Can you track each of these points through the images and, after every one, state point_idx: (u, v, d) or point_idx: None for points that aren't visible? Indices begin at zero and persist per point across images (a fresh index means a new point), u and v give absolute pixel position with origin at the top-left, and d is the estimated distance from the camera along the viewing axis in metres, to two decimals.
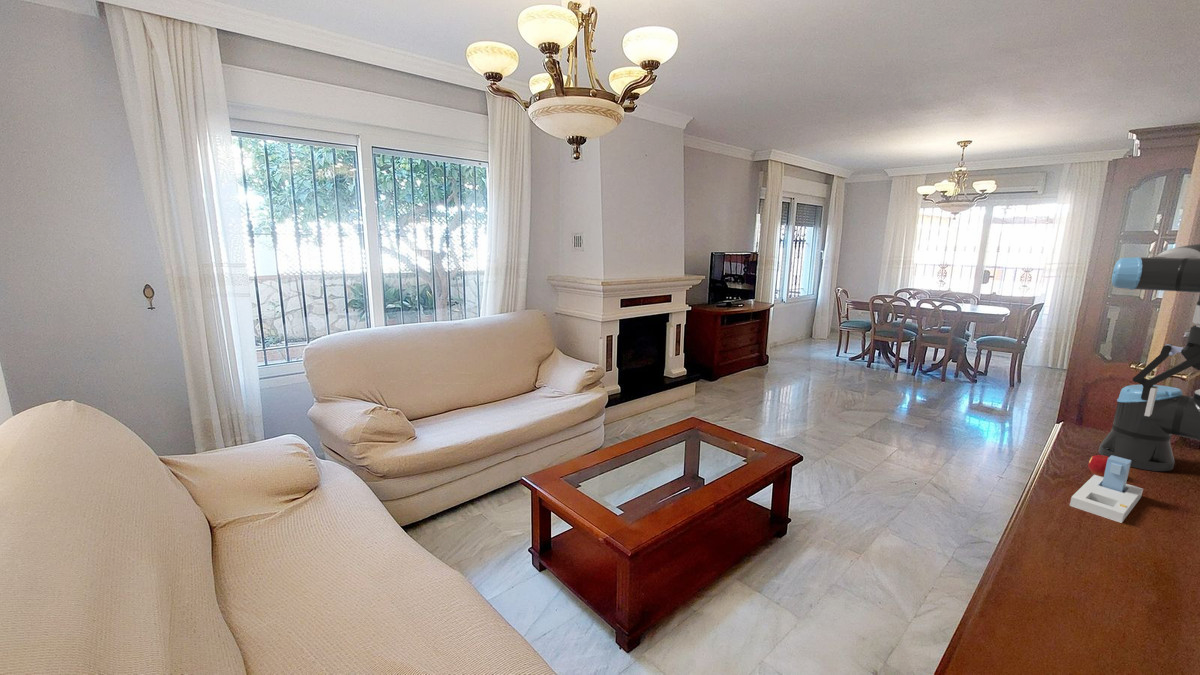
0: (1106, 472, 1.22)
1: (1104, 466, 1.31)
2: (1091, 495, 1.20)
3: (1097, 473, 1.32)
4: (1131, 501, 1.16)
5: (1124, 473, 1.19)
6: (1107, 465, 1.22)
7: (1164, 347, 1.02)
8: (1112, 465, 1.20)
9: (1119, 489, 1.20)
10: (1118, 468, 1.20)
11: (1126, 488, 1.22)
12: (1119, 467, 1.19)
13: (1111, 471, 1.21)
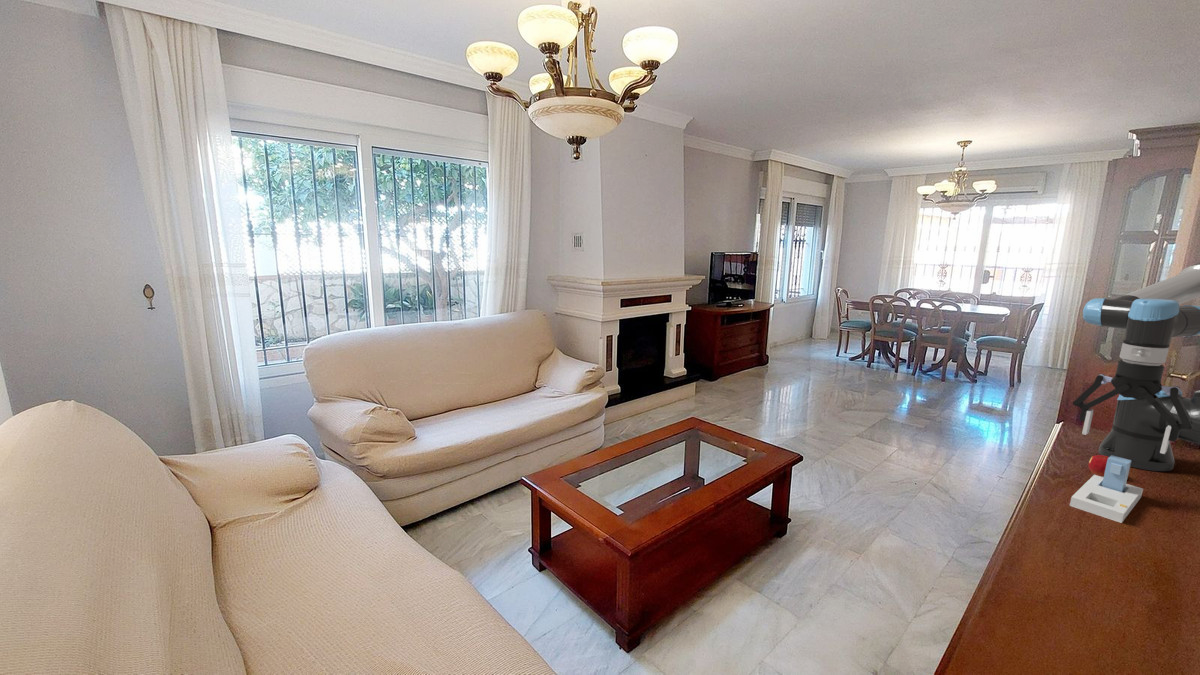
0: (1106, 472, 1.22)
1: (1104, 466, 1.31)
2: (1091, 495, 1.20)
3: (1097, 473, 1.32)
4: (1131, 501, 1.16)
5: (1124, 473, 1.19)
6: (1107, 465, 1.22)
7: (1097, 377, 1.21)
8: (1112, 465, 1.20)
9: (1119, 489, 1.20)
10: (1118, 468, 1.20)
11: (1126, 488, 1.22)
12: (1119, 467, 1.19)
13: (1111, 471, 1.21)
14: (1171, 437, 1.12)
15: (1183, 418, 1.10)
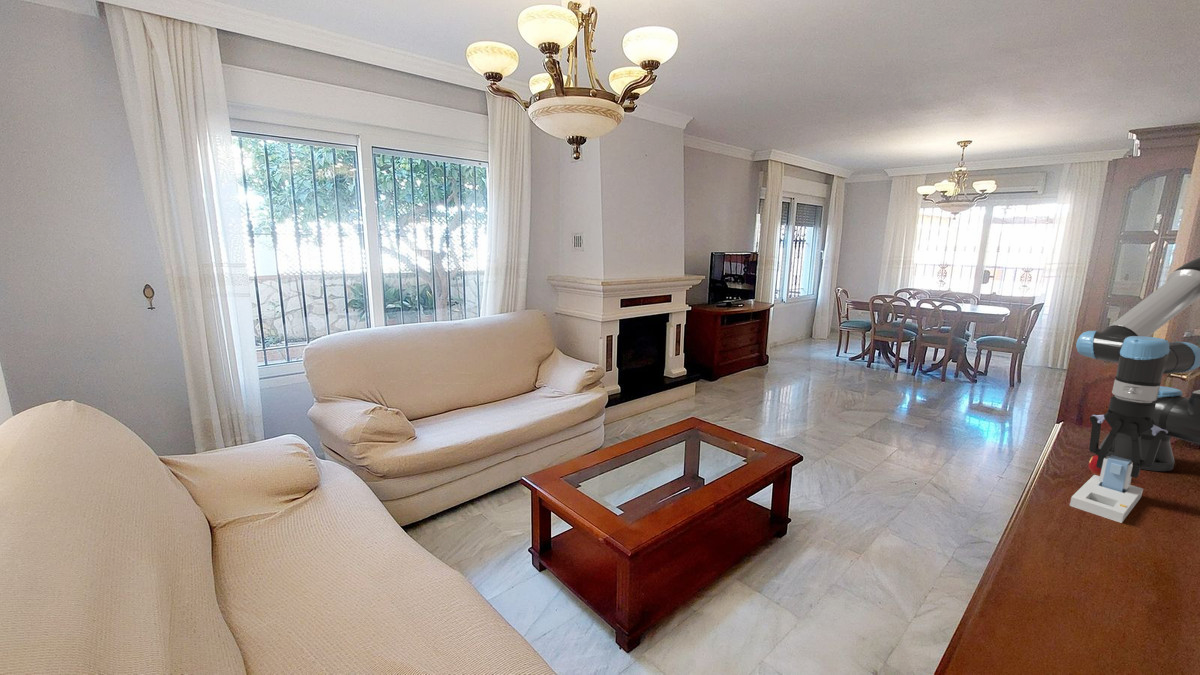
0: (1106, 472, 1.22)
1: None
2: (1091, 495, 1.20)
3: (1097, 473, 1.32)
4: (1131, 501, 1.16)
5: (1124, 473, 1.19)
6: (1107, 465, 1.22)
7: (1090, 418, 1.24)
8: (1112, 465, 1.20)
9: (1119, 489, 1.20)
10: (1118, 468, 1.20)
11: None
12: (1119, 467, 1.19)
13: (1111, 471, 1.21)
14: (1133, 474, 1.19)
15: (1149, 457, 1.16)
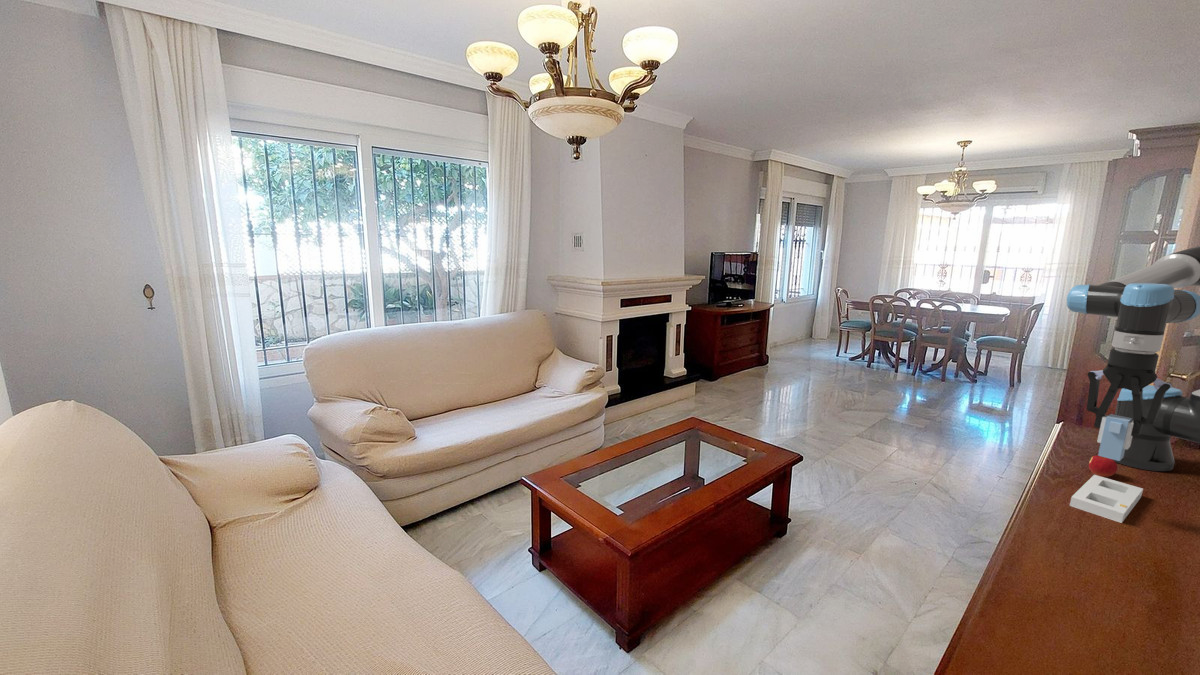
0: (1105, 432, 1.13)
1: (1104, 466, 1.30)
2: (1091, 495, 1.20)
3: (1097, 473, 1.32)
4: (1131, 501, 1.16)
5: (1124, 432, 1.11)
6: (1106, 424, 1.13)
7: (1088, 374, 1.15)
8: (1111, 423, 1.12)
9: (1119, 449, 1.12)
10: (1118, 426, 1.11)
11: (1126, 488, 1.22)
12: (1119, 425, 1.11)
13: (1110, 430, 1.12)
14: (1134, 432, 1.10)
15: (1152, 413, 1.07)
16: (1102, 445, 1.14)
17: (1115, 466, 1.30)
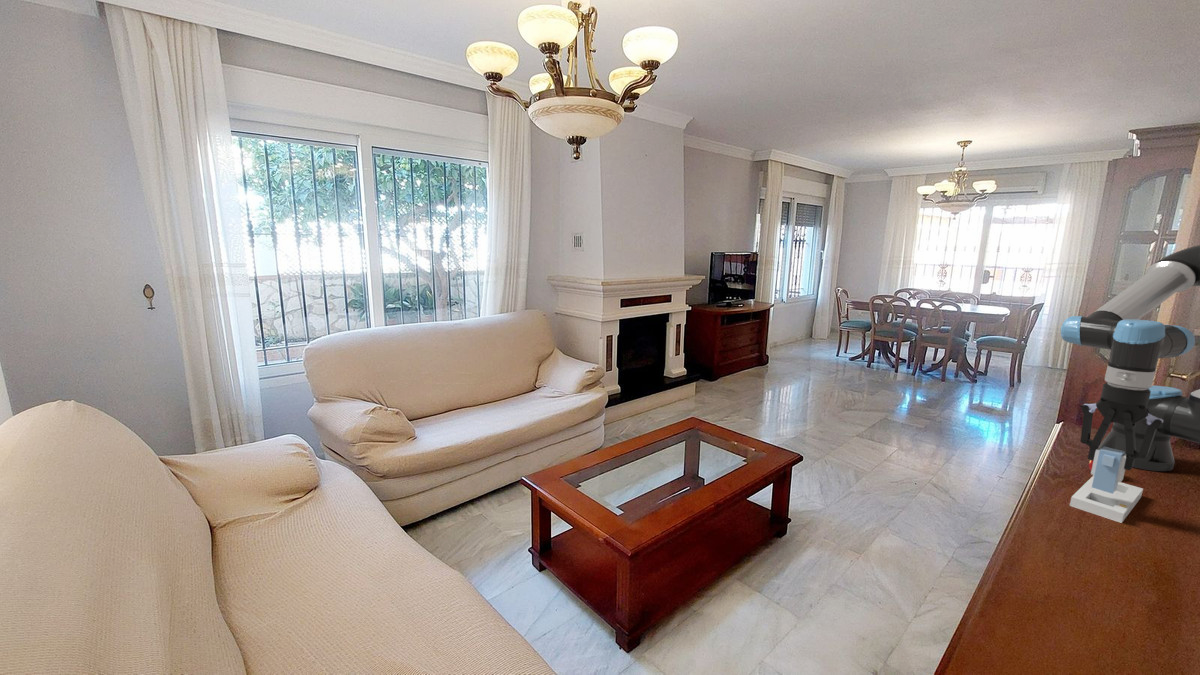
0: (1098, 464, 1.15)
1: None
2: (1091, 495, 1.20)
3: None
4: (1131, 501, 1.16)
5: (1117, 465, 1.12)
6: (1099, 457, 1.15)
7: (1082, 407, 1.17)
8: (1104, 457, 1.13)
9: (1112, 482, 1.13)
10: (1111, 460, 1.13)
11: (1126, 488, 1.22)
12: (1112, 458, 1.12)
13: (1103, 463, 1.14)
14: (1126, 466, 1.12)
15: (1144, 448, 1.09)
16: (1095, 477, 1.16)
17: None
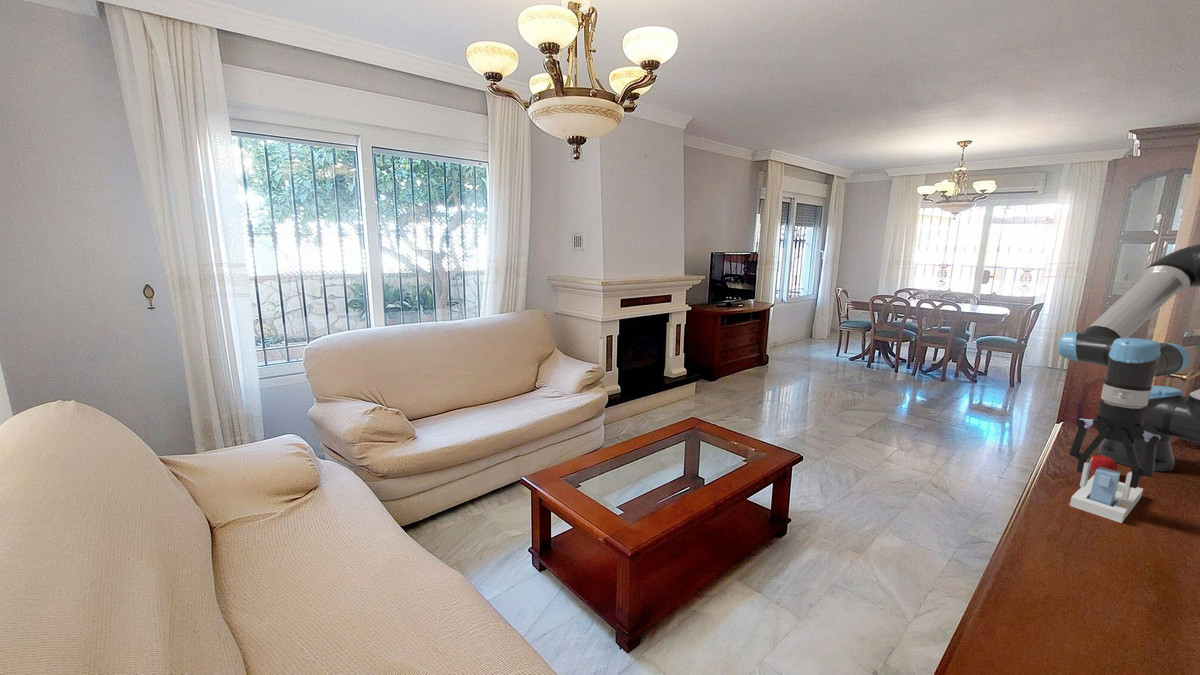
0: (1094, 484, 1.16)
1: (1105, 466, 1.30)
2: None
3: None
4: (1131, 501, 1.16)
5: (1113, 486, 1.13)
6: (1095, 477, 1.16)
7: (1078, 422, 1.18)
8: (1100, 477, 1.15)
9: (1107, 502, 1.15)
10: (1106, 480, 1.14)
11: None
12: (1108, 479, 1.14)
13: (1099, 484, 1.15)
14: (1132, 484, 1.11)
15: (1148, 466, 1.09)
16: (1091, 497, 1.17)
17: (1115, 466, 1.30)
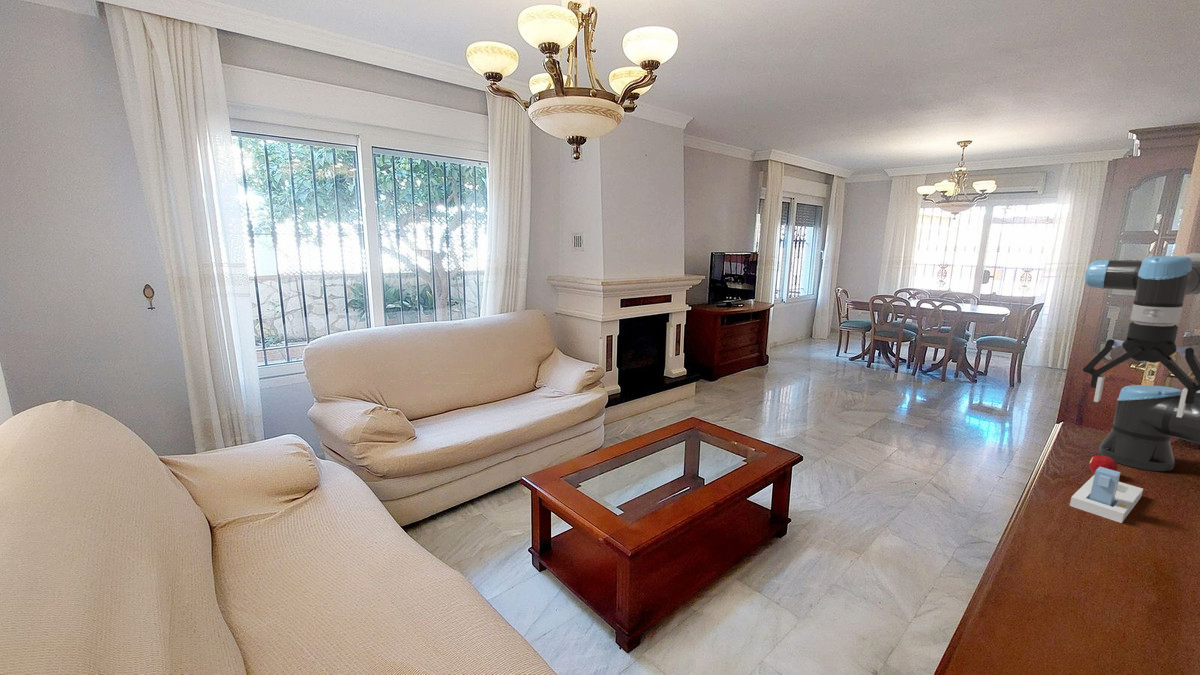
0: (1094, 484, 1.16)
1: (1105, 466, 1.30)
2: None
3: None
4: (1131, 501, 1.16)
5: (1113, 486, 1.13)
6: (1095, 477, 1.16)
7: (1108, 341, 1.16)
8: (1100, 477, 1.15)
9: (1107, 502, 1.15)
10: (1106, 480, 1.14)
11: (1126, 488, 1.22)
12: (1108, 479, 1.14)
13: (1099, 484, 1.15)
14: (1188, 400, 1.08)
15: None
16: (1091, 497, 1.17)
17: (1115, 466, 1.30)
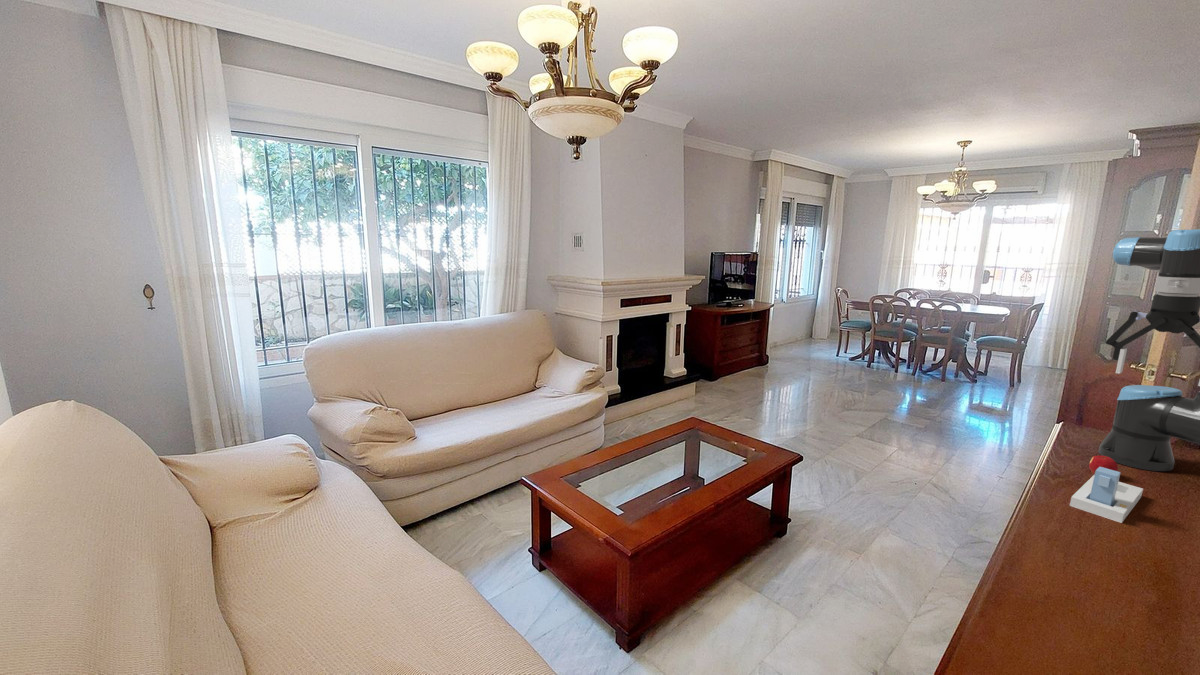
0: (1094, 484, 1.16)
1: (1105, 466, 1.30)
2: None
3: None
4: (1131, 501, 1.16)
5: (1113, 486, 1.13)
6: (1095, 477, 1.16)
7: (1131, 313, 1.19)
8: (1100, 477, 1.15)
9: (1107, 502, 1.15)
10: (1106, 480, 1.14)
11: (1126, 488, 1.22)
12: (1108, 479, 1.14)
13: (1099, 484, 1.15)
14: None
15: None
16: (1091, 497, 1.17)
17: (1115, 466, 1.30)
